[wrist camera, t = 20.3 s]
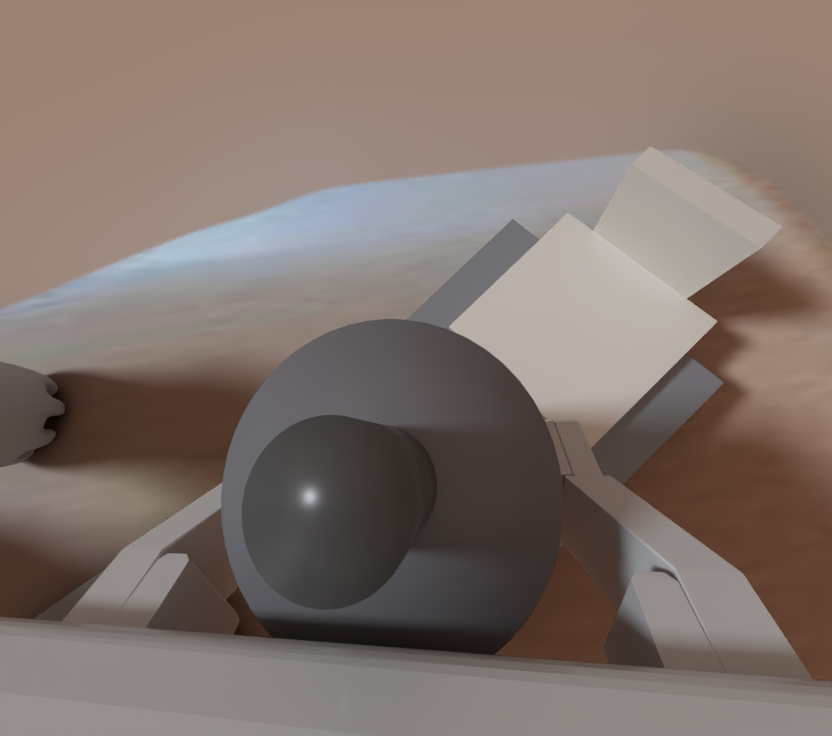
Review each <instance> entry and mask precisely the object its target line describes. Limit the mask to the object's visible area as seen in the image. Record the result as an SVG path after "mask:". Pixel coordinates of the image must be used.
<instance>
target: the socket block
mask: <svg viewBox="0 0 832 736" xmlns="http://www.w3.org/2000/svg"><path fill="white" fill-rule="evenodd" d="M538 241H539V239H538V238H536V237H535V236H534V235H533V234H531V233H530V232H529V231H527V230H526V229H525V228H523V227H522V226H521V225H520V224H518V223H517V222H516V221H514V220H513V219H512V220H511V221H510V222H509V223H508V224H507V225H506V226H505V227H504V228H503V229H502V230H501V231H500V232H499V233H498V234H497V235H496V236H495V237H493V238H492V239H491V240H490V241H489V242H488V243H487V244H486V245H485V246H484V247H483V248H482V249H481V250H480V251H479V252H478V253H477V254H476V255H474V256H473V257H472V258H471V259H470V260H469V261H468V262H467V263H466V264H465V265H464V266H463V267H462V268H461V269H460V270H459V271H458V272H457V273H456V274H454V275H453V276H452V277H451V278H450V279H449V280H448V281H447V282H446V283H445V284H444V285H443V286H442V287H441V288H440V289H439V290H438V291H437V292H435V293H434V294H433V295H432V296H431V297H430V298H429V299H428V300H427V301H426V302H425V303H424V304H423V305H422V306H421V307H420V308H419V309H418V310H416V311H415V312H414V313H413V314H412V315H411V316H410V317H409V318H408V319H407V320H411V321H418V322H424V323H429V324H432V325H435V326H439V327H442V328H445V329H448V330H449V326H450V325H451V324H452V323H453V322H454V321H455V320H456V319H457V318H458V317H459V316H460V315H462V314H463V313H464V312H465V311H466V310H467V309H468V308H469V307H470V306H471V305H472V304H473V303H474V302H475V301H476V300H477V299H478V298H479V297H480V296H481V295H482V294H483V293H485V292H486V291H487V290H488V289H489V288H490V287H491V286H492V285H493V284H494V283H495V282H496V281H497V280H498V279H499V278H500V277H501V276H502V275H503V274H504V273H505V272H507V271H508V270H509V269H510V268H511V267H512V266H513V265H514V264H515V263H516V262H517V261H518V260H519V259H520V258H521V257H522V256H523V255H524V254H525V253H526V252H527V251H528V250H530V249H531V248H532V247H533V246H534V245H535V244H536V243H537V242H538ZM723 383H724V382H723V381H721V380H720V379H719V378H718V377H716V376H715V375H714V374H712V373H711V372H710V371H708V370H707V369H706V368H705V367H703V366H702V365H701V364H699V363H698V362H697V361H696V360H694V359H693V358H692V357H690V356H689V355H688V354H685V355H684V356H683V357H682V358H681V359H680V360H679V361H678V362H677V363H676V364H675V365H674V366H673V367H672V368H671V369H670V370H669V371H668V372H667V373H666V374H665V375H664V376H663V377H662V378H661V379H660V380H659V381H658V382H657V383H656V384H655V385H654V386H653V387H652V388H651V389H650V390H649V391H648V392H647V393H646V394H645V395H644V396H643V397H642V398H641V399H640V400H639V401H638V402H637V403H636V404H635V405H634V406H633V407H632V408H631V409H630V410H629V411H628V412H627V413H626V414H625V415H624V416H623V417H622V418H621V419H620V420H619V421H618V422H617V423H616V424H615V425H614V426H613V427H612V428H611V429H610V430H609V431H608V432H607V433H606V434H605V435H604V436H603V437H602V438H601V439H600V440H599V441H598V442H597V443H596V444H595V445H594V446H593V447H592V448H591V450H592V452H593V454H594V457H595V459H596V461H597V463H598V466H599V468H600V470H601V472H602V475H603V476H612V477H613V478H615V479H616V480H617V481H619V482H620V483H621V484H624V483H625V482H626V481H627V480H628V479H629V478H630V477H631V476H632V475H633V474H634V473H635V472H636V471H637V470H638V469H639V468H640V467H641V466H642V465H643V464H644V463H645V462H646V461H647V460H648V459H649V458H650V457H651V456H652V455H653V454H654V453H655V452H656V451H657V450H658V449H659V448H660V447H661V446H662V445H663V444H664V443H665V442H666V441H667V440H668V439H669V438H670V437H671V436H672V435H673V434H674V433H675V432H676V431H677V430H678V429H679V428H680V427H681V426H682V425H683V424H684V423H685V422H686V421H687V420H688V419H689V418H690V417H691V416H692V415H693V414H694V413H695V412H696V411H697V410H698V409H699V408H700V407H701V406H702V405H703V404H704V403H705V402H706V401H707V400H708V399H709V398H710V397H711V395H712V394H713V393H714V392H715V391H716V390H717V389H718V388H719V387H720V386H721V385H722V384H723ZM562 546H563V544H562V542H561V541H560V546H559V549H560V548H561V547H562Z"/></svg>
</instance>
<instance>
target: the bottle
mask: <svg viewBox="0 0 832 736" xmlns="http://www.w3.org/2000/svg"><path fill="white" fill-rule="evenodd" d="M57 391H58V386H57V384H56V383H55V382H54V381H53V380H52V379H50V378H49V377H47V376H45V375H43V374H40V373H38V372H35V371H33V370H30V369H26V368H23V367H20V366H16V365H13V364H8V363H2V362H0V467H4V466H8V465H13V464H17V463H19V462H22V461H24V460H26V459H28V458H29V457H31V456H32V455H33V453H34V451H35V449H36V448H39V447H42V446H45V445H47V444H49V443H50V442H51V441H52V440H53V439H54V437H55V436H56V433H55V431H53V430H51V429H44V428H43V427H44V424H45V421H46V419H47V418H48V417H50V416H58V415H62V414H63V413H64V412H65V406H64V404H63V403H62V402H61V401H59V400H57V399H55V398H53V397H52V395H54V394H55V393H56V392H57Z"/></svg>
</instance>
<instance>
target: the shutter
mask: <svg viewBox="0 0 832 736" xmlns="http://www.w3.org/2000/svg"><path fill="white" fill-rule="evenodd" d="M781 228H782V226H780V225H778V224H777V223H775V222H774V221H772V220H770V219H769V218H767V217H765V216H764V215H762V214H761V213H759V212H757V211H756V210H754V209H752V208H751V207H749V206H747V205H746V204H744V203H743V202H741V201H739V200H738V199H736V198H734V197H733V196H731V195H730V194H728V193H726V192H725V191H723V190H721V189H720V188H718V187H717V186H715V185H713V184H712V183H710V182H708V181H707V180H705V179H704V178H702V177H700V176H699V175H697V174H695V173H694V172H692V171H691V170H689V169H687V168H686V167H684V166H682V165H681V164H679V163H677V162H676V161H674V160H673V159H671V158H669V157H668V156H666V155H664V154H663V153H661V152H660V151H658V150H656V149H655V148H653V147H651V146H650V147H649V148H648V149H647V150H646V151H645V152H644V153H643V154H642V155H641V156H640V157H639V158H637V159H636V160H635V161H634V162H633V163H632V164H631V166H630V168H629V169H628V171H627V173H626V175H625V176H624V178H623V180H622V182H621V183H620V185H619V187H618V189H617V190H616V192H615V194H614V196H613V197H612V199H611V201H610V203H609V204H608V206H607V208H606V210H605V211H604V213H603V215H602V216H601V218H600V220H599V222H598V223H597V225H596V227H595V229H594V230H591V229H590V228H589V227H587V226H586V225H584V224H583V223H582V222H580V221H579V220H577V219H576V218H575V217H573V216H572V215H571V214H569V213H567V214H566V215H565V216H564V217H563V218H562V219H561V220H560V221H559V222H558V223H557V224H556V225H555V226H554V227H553V228H552V229H550V230H549V231H548V232H547V233H546V234H545V235H544V236H543V237H542V238H541V239H540V240H539V241H538V242H537V243H536V244H535V245H534V246H533V247H532V248H531V249H530V250H528V251H527V252H526V253H525V254H524V255H523V256H522V257H521V258H520V259H519V260H518V261H517V262H516V263H515V264H514V265H513V266H512V267H511V268H510V269H509V270H508V271H507V272H505V273H504V274H503V275H502V276H501V277H500V278H499V279H498V280H497V281H496V282H495V283H494V284H493V285H492V286H491V287H490V288H489V289H488V290H487V291H486V292H485V293H483V294H482V295H481V296H480V297H479V298H478V299H477V300H476V301H475V302H474V303H473V304H472V305H471V306H470V307H469V308H468V309H467V310H466V311H465V312H464V313H463V314H462V315H460V316H459V317H458V318H457V319H456V320H455V321H454V322H453V323H452V324H451V325H450V326H449V330H451V331H453V332H455V333H457V334H460V335H462V336H464V337H466V338H468V339H470V340H471V341H473V342H475V343H476V344H478V345H480V346H481V347H483V348H484V349H486V350H487V351H488V352H490V353H491V354H492V355H493V356H495V357H496V358H497V359H498V360H500V361H501V362H502V363H503V364H504V365H505V366H506V367H507V368H508V369H509V370H510V371H511V372H512V373H513V374H514V375H515V376H516V377H517V378H518V379H519V381H520V382H521V383H522V385H523V386H524V387H525V389H526V390H527V392H528V393H529V394H530V396H531V397H532V398H533V400H534V402H535V404H536V405H537V407H538V409H539V411H540V413H541V414H542V416H543V418H544V420H552V419H572V418H576V419H577V420H578V421H579V423H580V425H581V427H582V430H583V432H584V434H585V436H586V439H587V441H588V443H589V445H590V448H592V447H593V446H594V445H595V444H596V443H597V442H598V441H599V440H600V439H601V438H602V437H603V436H604V435H605V434H606V433H607V432H608V431H609V430H610V429H611V428H612V427H613V426H614V425H615V424H616V423H617V422H618V421H619V420H620V419H621V418H622V417H623V416H624V415H625V414H626V413H627V412H628V411H629V410H630V409H631V408H632V407H633V406H634V405H635V404H636V403H637V402H638V401H639V400H640V399H641V398H642V397H643V396H644V395H645V394H646V393H647V392H648V391H649V390H650V389H651V388H652V387H653V386H654V385H655V384H656V383H657V382H658V381H659V380H660V379H661V378H662V377H663V376H664V375H665V374H666V373H667V372H668V371H669V370H670V369H671V368H672V367H673V366H674V365H675V364H676V363H677V362H678V361H679V360H680V359H681V358H682V357H683V356H684V355H685V354H686V353H687V352H688V351H689V350H690V349H691V348H692V347H693V346H694V345H695V344H696V343H697V342H698V341H699V340H700V339H701V338H702V337H703V336H704V335H705V334H706V333H707V332H708V331H709V330H710V329H711V328H712V327H713V326H714V325H715V324H716V323H717V322H718V321H717V320H715V319H714V318H712V317H711V316H710V315H708V314H707V313H706V312H704V311H703V310H701V309H700V308H699V307H697V306H696V305H695V304H693V303H692V302H690V301H689V300H688V299H687V298H688V297H690V296H691V295H693V294H694V293H696V292H697V291H699V290H700V289H702V288H703V287H705V286H706V285H707V284H709V283H710V282H712V281H713V280H715V279H716V278H718V277H719V276H721V275H722V274H724V273H725V272H727V271H728V270H730V269H731V268H733V267H734V266H735V265H737V264H738V263H740V262H741V261H743V260H744V259H746V258H747V257H749V256H750V255H752V254H753V253H755V252H756V251H758V250H759V249H761V248H762V247H763V246H764V245H765V244H766V243H767V242H768V241H769V240H770V239H771V238H772V237H773V236H774V235H775V234H776V233H777V232H778V231H779V230H780V229H781Z"/></svg>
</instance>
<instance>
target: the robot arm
mask: <svg viewBox="0 0 832 736" xmlns="http://www.w3.org/2000/svg"><path fill="white" fill-rule="evenodd" d="M545 422H546V425H547V427H548V430H549V432H550V435H551V437H552V440H553V442H554V446H555V450H556V453H557V457H558V461H559V465H560V470H561V479H562V487H563V525H562V532H561V539H560V541H561V542H562V544H563V545H564V546H565V547H566V548H567V550H568V551H569V552H570V553H571V554H572V556H573V557H574V558H575V559H576V561H577V562H578V563H579V564H580V565H581V567H582V568H583V569H584V570H585V571H586V573H587V574H588V575H589V576H590V578H591V579H592V580H593V581H594V582H595V584H596V585H597V586H598V587H599V588H600V590H601V591H602V592H603V593H604V595H605V596H606V597H607V598H608V599H609V601H610V602H611V603H612V604H613V605H614V607H615V608H616V609H617V610H618V613H617V616H616V618H615V621H614V623H613V626H612V628H611V631H610V633H609V636H608V638H607V641H606V643H605V646H604V647H605V650H606V654H607V657H608V661H609V664H603V663H591V662H578V661H565V660H552V659H539V658H526V657H513V656H500V655H488V654H475V653H462V652H449V651H436V650H423V649H410V648H397V647H385V646H372V645H359V644H346V643H333V642H320V641H307V640H295V639H282V638H269V637H256V636H243V635H234V633H235V630H236V628H237V626H238V624H239V622H240V620H239V616H238V614H237V613H236V611H235V610H234V609H233V608H232V607H231V605H230V604H229V603H228V602H227V601H226V599H227V598H228V597H229V596H230V595H231V594H232V593H233V592H234V591H235V590H236V589H237V588H238V587H239V586H238V584H237V581H236V579H235V576H234V574H233V571H232V568H231V566H230V562H229V558H228V554H227V550H226V546H225V542H224V534H223V527H222V516H221V493H222V483H221V484H219V485H218V486H216V487H215V488H213V489H212V490H210V491H209V492H207V493H206V494H204V495H203V496H201V497H200V498H198V499H197V500H195V501H194V502H192V503H191V504H189V505H188V506H186V507H185V508H183V509H182V510H180V511H179V512H177V513H176V514H174V515H173V516H171V517H170V518H168V519H167V520H165V521H164V522H162V523H161V524H159V525H158V526H156V527H155V528H153V529H152V530H150V531H149V532H147V533H146V534H144V535H143V536H141V537H140V538H138V539H137V540H135V541H134V542H132V543H131V544H129V545H128V546H126V547H125V548H123V549H122V550H121V551H120V553H119V554H118V555H117V556H116V557H115V559H114V560H113V561H112V562H111V563H110V565H109V566H108V567H107V568H106V569H105V570H104V572H103V573H102V574H101V575H100V576H99V578H98V579H97V580H96V581H95V582H94V584H93V585H92V586H91V587H90V588H89V590H88V591H87V592H86V593H85V594H84V596H83V597H82V598H81V599H80V600H79V602H78V603H77V604H76V605H75V606H74V608H73V609H72V610H71V611H70V612H69V613H68V615H67V616H66V617H65V618H64V619H63V621H62V622H61V621H48V620H35V619H22V618H9V617H0V736H832V681H822V680H813V678H812V677H811V675H810V674H809V672H808V671H807V669H806V668H805V666H804V665H803V663H802V662H801V660H800V659H799V657H798V656H797V654H796V653H795V651H794V650H793V648H792V647H791V645H790V644H789V642H788V640H787V639H786V637H785V636H784V634H783V633H782V631H781V630H780V628H779V627H778V625H777V624H776V622H775V621H774V619H773V618H772V616H771V615H770V613H769V612H768V610H767V609H766V607H765V606H764V604H763V603H762V601H761V600H760V598H759V597H758V595H757V594H756V592H755V591H754V589H753V588H752V586H751V585H750V583H749V582H748V580H747V579H746V577H745V576H744V574H743V573H742V572H740V571H739V570H738V569H736V568H735V567H734V566H732V565H731V564H730V563H728V562H727V561H725V560H724V559H723V558H721V557H720V556H719V555H717V554H716V553H715V552H713V551H712V550H711V549H709V548H708V547H707V546H705V545H704V544H702V543H701V542H700V541H698V540H697V539H696V538H694V537H693V536H692V535H690V534H689V533H688V532H686V531H685V530H684V529H682V528H681V527H679V526H678V525H677V524H675V523H674V522H673V521H671V520H670V519H669V518H667V517H666V516H665V515H663V514H662V513H661V512H659V511H658V510H656V509H655V508H654V507H652V506H651V505H650V504H648V503H647V502H646V501H644V500H643V499H642V498H640V497H639V496H638V495H636V494H635V493H633V492H632V491H631V490H629V489H628V488H627V487H625V486H624V485H623V484H621V483H620V482H619V481H617V480H616V479H615V478H613V477H612V476H603V475H602V472H601V470H600V468H599V466H598V463H597V461H596V459H595V457H594V454H593V452H592V450H591V448H590V445H589V443H588V441H587V439H586V436H585V434H584V432H583V430H582V427H581V425H580V423H579V421H578V420H577V419H576V418H572V419H552V420H545Z"/></svg>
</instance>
